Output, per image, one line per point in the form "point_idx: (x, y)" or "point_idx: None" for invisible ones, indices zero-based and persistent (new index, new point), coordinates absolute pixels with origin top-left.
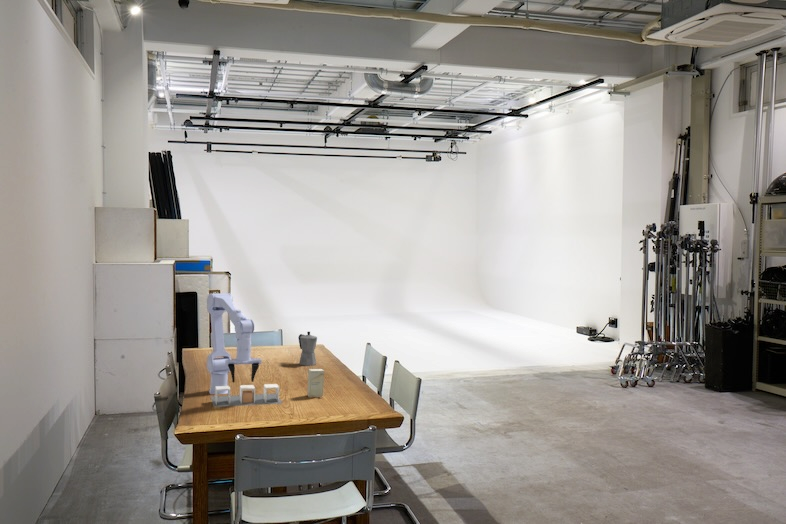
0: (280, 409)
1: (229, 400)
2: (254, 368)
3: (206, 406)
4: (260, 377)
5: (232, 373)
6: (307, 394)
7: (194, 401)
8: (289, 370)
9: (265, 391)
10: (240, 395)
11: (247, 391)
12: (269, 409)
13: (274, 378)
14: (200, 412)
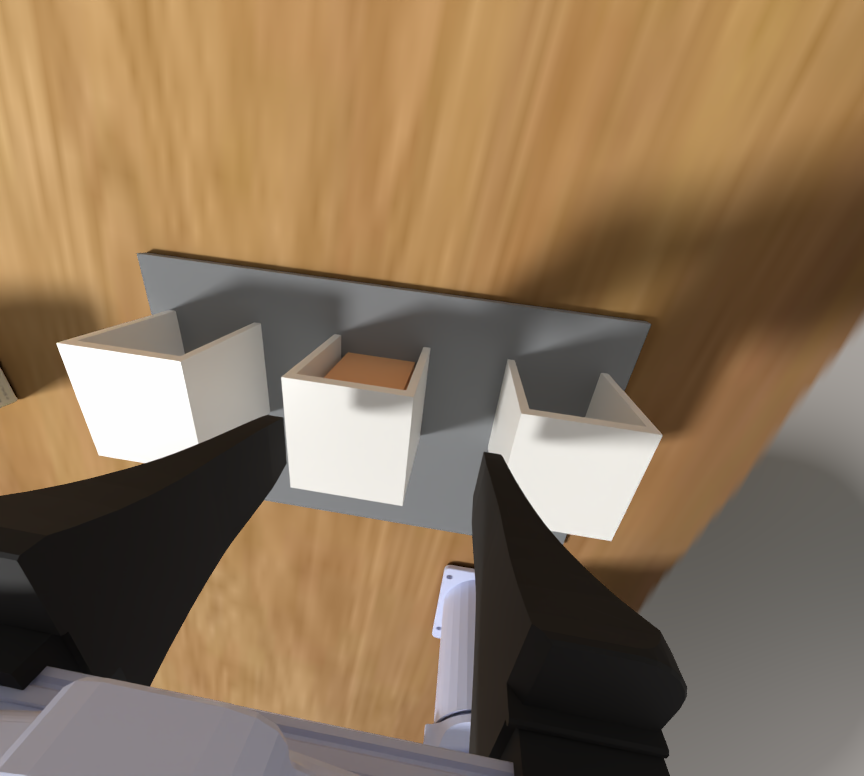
0: (153, 106)
1: (515, 370)
2: (77, 508)
3: (667, 387)
4: (267, 709)
5: (536, 533)
6: (2, 402)
7: (677, 513)
8: None
9: (211, 360)
10: (419, 413)
11: None
12: (242, 138)
13: (213, 686)
14: (804, 230)
